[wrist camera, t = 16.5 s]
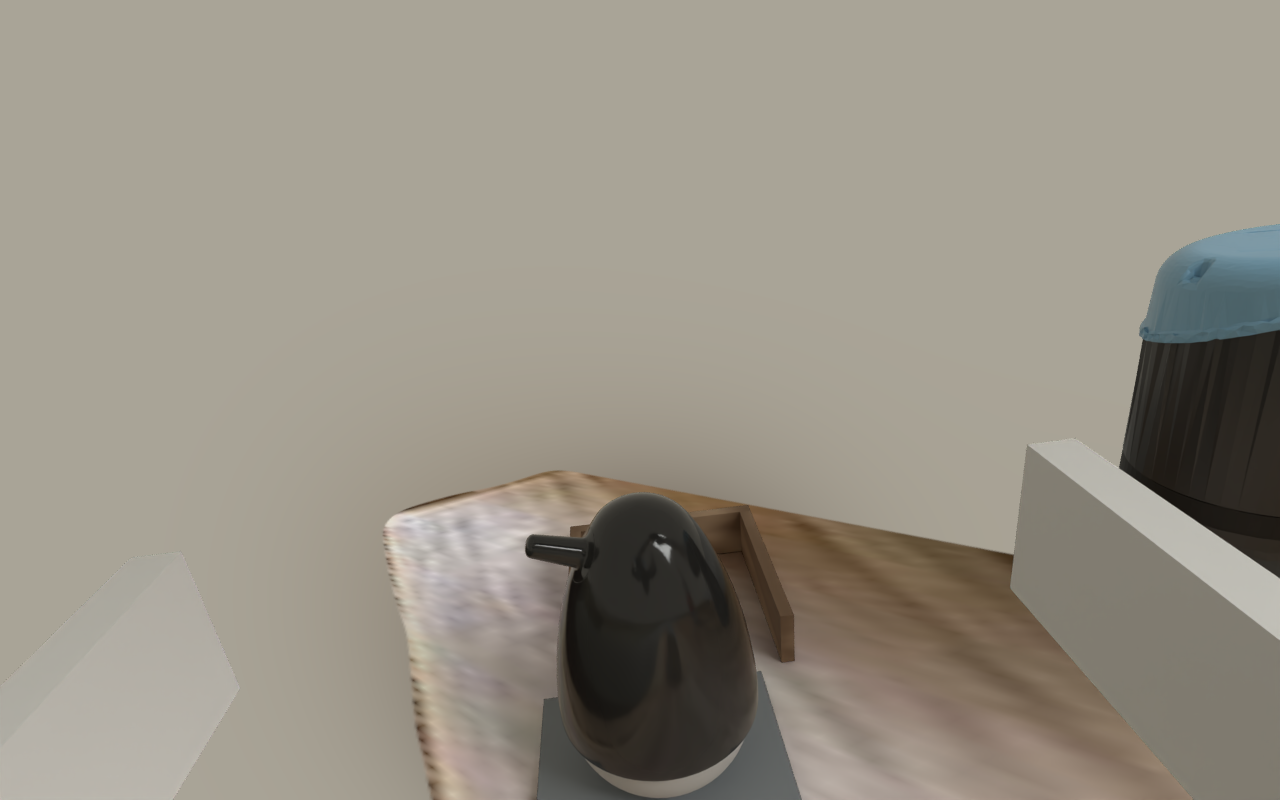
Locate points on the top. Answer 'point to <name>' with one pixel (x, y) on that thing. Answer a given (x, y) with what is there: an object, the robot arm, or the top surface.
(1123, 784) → the top surface
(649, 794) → the pump dispenser
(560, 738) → the grey mat
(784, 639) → the walnut caddy
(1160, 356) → the robot arm
